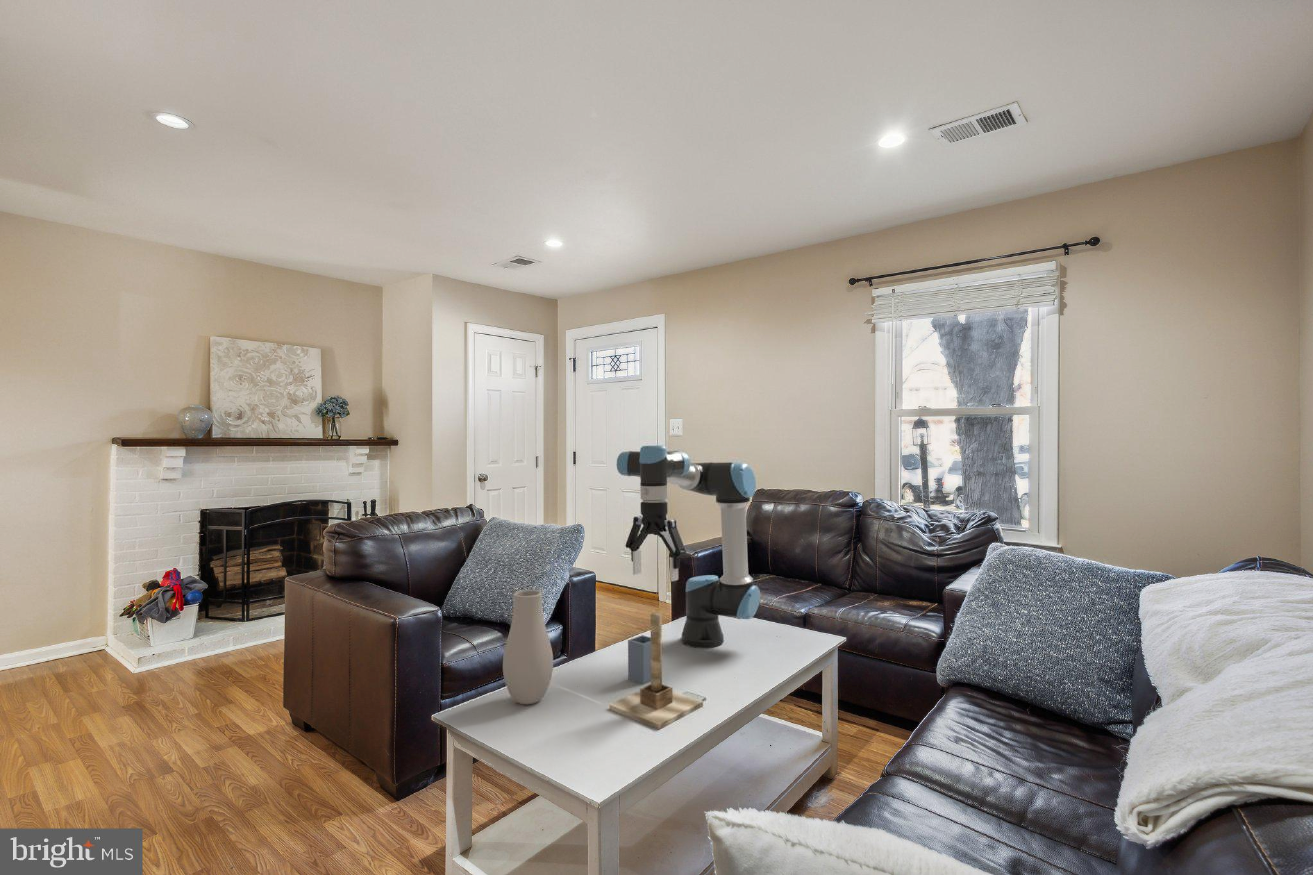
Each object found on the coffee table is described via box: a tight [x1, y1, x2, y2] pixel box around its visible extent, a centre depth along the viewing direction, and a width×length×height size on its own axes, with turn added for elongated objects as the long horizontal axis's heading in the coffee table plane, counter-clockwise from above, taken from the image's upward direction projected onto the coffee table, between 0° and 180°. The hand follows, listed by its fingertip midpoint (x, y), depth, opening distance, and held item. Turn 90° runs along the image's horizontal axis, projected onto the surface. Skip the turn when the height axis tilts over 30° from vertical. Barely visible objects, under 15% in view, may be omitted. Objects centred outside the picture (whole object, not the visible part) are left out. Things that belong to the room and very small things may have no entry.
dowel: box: [650, 612, 663, 693], centre depth 165 cm, size 3×3×24 cm
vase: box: [502, 589, 554, 705], centre depth 170 cm, size 14×14×30 cm
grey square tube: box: [627, 634, 651, 685], centre depth 185 cm, size 6×6×12 cm
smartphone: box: [681, 691, 707, 703], centre depth 167 cm, size 7×1×15 cm
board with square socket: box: [608, 683, 704, 730], centre depth 165 cm, size 18×18×5 cm
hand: (655, 577), depth 170 cm, fingers open, 13 cm apart
